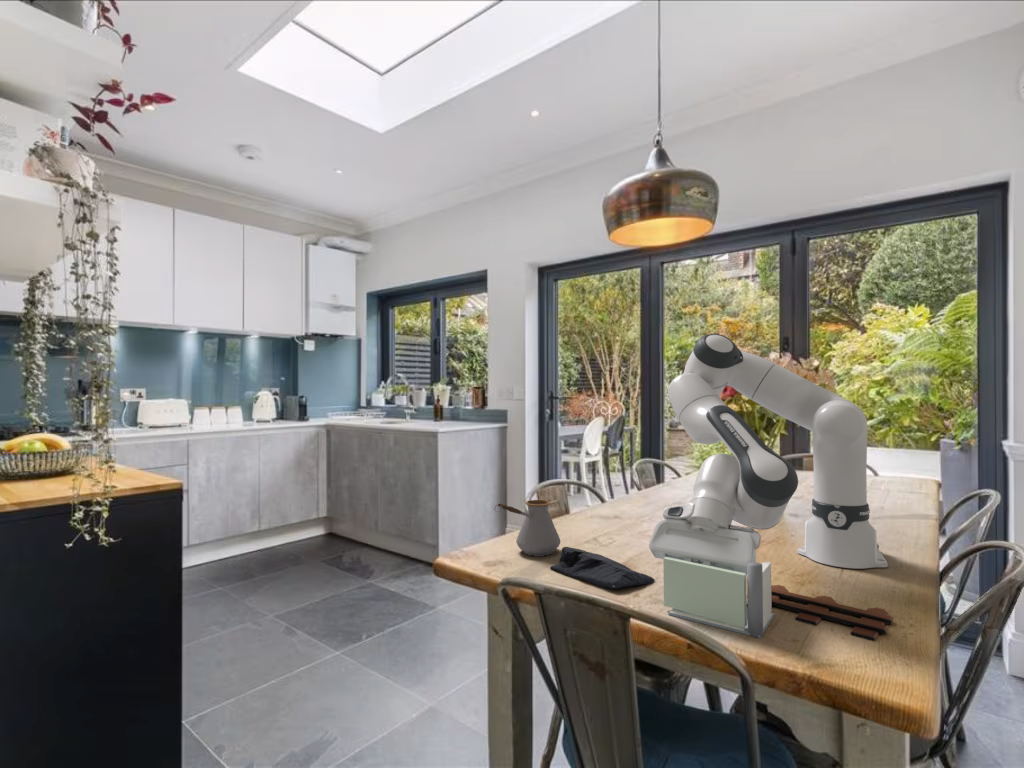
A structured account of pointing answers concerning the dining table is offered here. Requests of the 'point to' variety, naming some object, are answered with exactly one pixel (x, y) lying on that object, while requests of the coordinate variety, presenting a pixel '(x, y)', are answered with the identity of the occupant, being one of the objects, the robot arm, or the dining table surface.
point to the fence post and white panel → (758, 596)
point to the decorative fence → (820, 608)
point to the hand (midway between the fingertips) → (693, 584)
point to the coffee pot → (536, 529)
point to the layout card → (718, 623)
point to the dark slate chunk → (598, 569)
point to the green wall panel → (705, 591)
